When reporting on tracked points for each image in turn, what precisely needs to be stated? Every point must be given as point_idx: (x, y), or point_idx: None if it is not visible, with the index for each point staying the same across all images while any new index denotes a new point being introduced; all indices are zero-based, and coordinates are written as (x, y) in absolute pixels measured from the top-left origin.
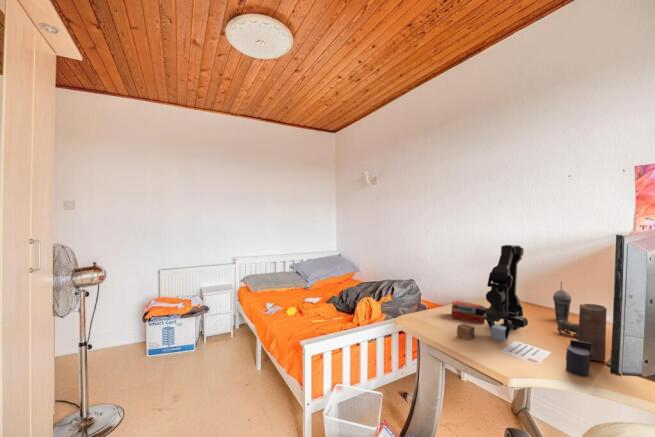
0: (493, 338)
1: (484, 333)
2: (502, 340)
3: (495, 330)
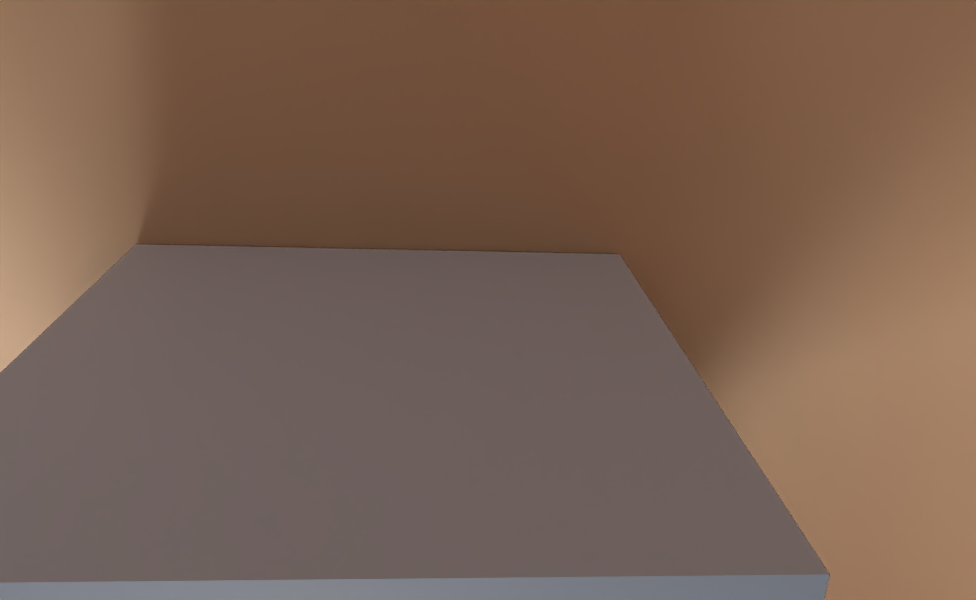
0: (521, 262)
1: (904, 497)
2: (159, 270)
3: (459, 462)
